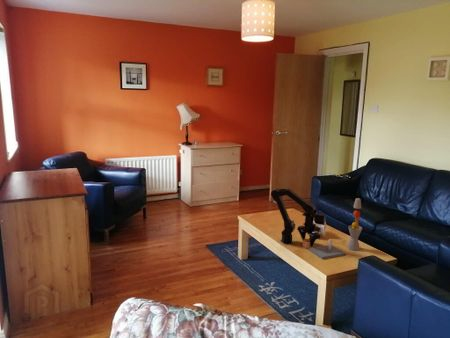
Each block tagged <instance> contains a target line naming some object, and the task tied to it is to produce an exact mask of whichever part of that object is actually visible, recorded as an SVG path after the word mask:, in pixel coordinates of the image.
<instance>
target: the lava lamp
mask: <svg viewBox="0 0 450 338" xmlns="http://www.w3.org/2000/svg"><path fill="white" fill-rule="evenodd" d="M353 209H355V210H354V211H353V216H354V220H355V221H354V222H352V224H350V225H347V226H348V230H349V235H350V238H349V240H348V243H347V245H346V249H347V250H350V251H354V252H359V251H360V250H361V246H360V243H359V236H360V234H361V232H362V230H363V227H362V226H360V225H359V220H360V215H361V212H360V210H359V209H362V201H361V198H359V197H358V198H357V197H356V198H355V201H354V203H353Z"/></svg>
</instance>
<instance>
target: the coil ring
mask: <svg viewBox="0 0 450 338" xmlns="http://www.w3.org/2000/svg"><path fill="white" fill-rule="evenodd" d="M302 248H305V249H309V248H314V245H313V246H312V247H311V245H310V240H309V238H305V239H303V240H302Z"/></svg>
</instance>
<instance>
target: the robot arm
mask: <svg viewBox="0 0 450 338" xmlns="http://www.w3.org/2000/svg"><path fill="white" fill-rule="evenodd" d="M270 196H271V198H272V199H273V200H274V202H275V203H276V205H277V208H278V210H279V212H280V215H281V218H282V220H283V227H284V228H283V230H282V231H281V239H280V242H281V243H282V244H284V245H288V244H289V245H290V244H293V232H294V231H295V230H297V232H298V234H299V235H300V238H301V240H302V241H303V239H306V236H307V235H306V234H308V236H309V238H308V239H309V240H310V245H311V247H312V246H313V247H314V244H315V242H316V241H317V240H319V239H321V235H320V234H319V233H312V232H315V231H317V232H319V231H320V229H321V228H320V227H318V226H316V224H321V225H325V222H326V215H325V214H321V213H319V212H318V211H317V209H316V205H315V204H313V203H312V202H310V201H307V200H305V199H303V198H302V197H301V196H300V195H298V194H297V193H296V192H294V191H293V190H292V189H291V188H278V187H276V188H274V189H273V190H271V192H270ZM285 196H287V197H289V198H290V199H291V200H292V201H294V202H296V203H297V204H298V205H299V206H300V207H301V208H302V210H303V211H304V212H303V213H302V216H303V217H304V222H303V223H302V224H303V225H298V226H297V229H296V224H295V220H292V219H291V218H290V216H289V214H288V213H289V212H288V210H287V207H286V205H285V203H284V200H283V197H285ZM314 222H315V223H316V224H314Z"/></svg>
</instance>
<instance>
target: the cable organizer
mask: <svg viewBox="0 0 450 338" xmlns="http://www.w3.org/2000/svg"><path fill="white" fill-rule="evenodd" d="M314 224H316V223H315V222H314ZM316 226H318V227H320V228H321V229H320V231H319V232H317V231H315V232H312V233H318V234H319V235H320V236H322V237H324V236H326V229H327V223H326V221H325V225H321V224H316Z"/></svg>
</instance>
